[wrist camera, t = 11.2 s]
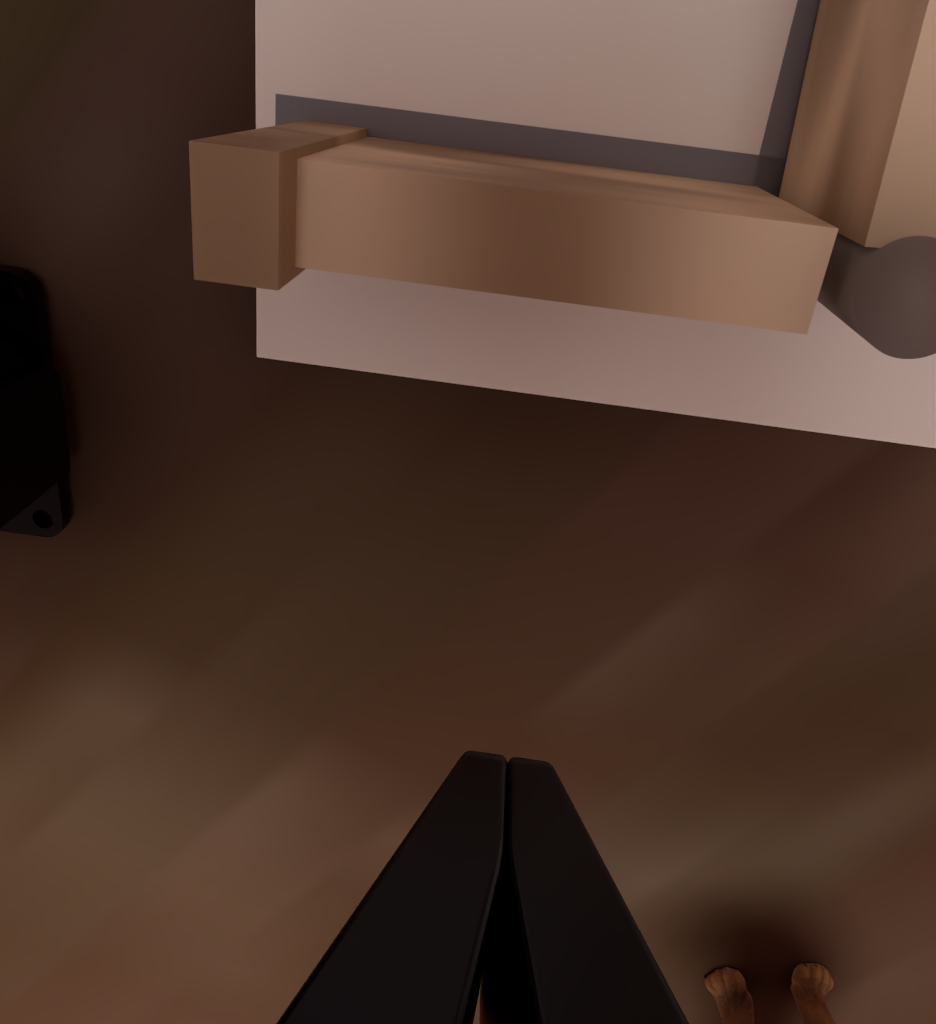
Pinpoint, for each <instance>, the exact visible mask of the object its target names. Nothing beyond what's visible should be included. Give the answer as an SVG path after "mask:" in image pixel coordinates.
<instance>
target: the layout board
mask: <svg viewBox="0 0 936 1024" xmlns="http://www.w3.org/2000/svg"><path fill="white" fill-rule="evenodd" d="M819 4H820V0H255V44H256V129H259V128H265V127H271V126H276V125H282V124H288V123H294V122H300V121H314V122H322V123H330V124H338V125H345V126H353V127H361V128H367V137H373V138H381V139H389V140H397V141H404V142H412V143H420V144H428V145H436V146H443V147H451V148H459V149H467V150H475V151H483V152H490V153H498V154H506V155H514V156H522V157H529V158H537V159H545V160H553V161H561V162H569V163H576V164H584V165H592V166H600V167H608V168H615V169H623V170H631V171H639V172H647V173H654V174H662V175H670V176H678V177H686V178H694V179H701V180H709V181H717V182H725V183H733V184H740V185H748V186H756V187H759V188H761V189H763V190H765V191H766V192H768V193H770V194H772V195H774V196H776V197H778V198H779V194H780V189H781V184H782V179H783V175H784V170H785V165H786V160H787V156H788V151H789V146H790V142H791V137H792V132H793V127H794V123H795V118H796V113H797V108H798V104H799V99H800V94H801V90H802V85H803V80H804V75H805V71H806V66H807V61H808V56H809V52H810V47H811V42H812V38H813V33H814V28H815V23H816V19H817V14H818V9H819ZM256 318H257V357H261V358H268V359H275V360H283V361H290V362H298V363H305V364H313V365H320V366H328V367H335V368H342V369H350V370H357V371H365V372H372V373H380V374H387V375H394V376H402V377H409V378H417V379H424V380H432V381H439V382H447V383H454V384H461V385H469V386H476V387H484V388H491V389H499V390H506V391H514V392H521V393H528V394H536V395H543V396H551V397H558V398H566V399H573V400H580V401H588V402H595V403H603V404H610V405H618V406H625V407H633V408H640V409H647V410H655V411H662V412H670V413H677V414H685V415H692V416H700V417H707V418H714V419H722V420H729V421H737V422H744V423H752V424H759V425H766V426H774V427H781V428H789V429H796V430H804V431H811V432H819V433H826V434H833V435H841V436H848V437H856V438H863V439H871V440H878V441H886V442H893V443H900V444H908V445H915V446H923V447H930V448H936V354H933V355H930V356H927V357H923V358H917V359H900V358H895V357H891V356H888V355H886V354H884V353H882V352H880V351H879V350H877V349H876V348H874V347H873V346H872V345H871V344H870V343H868V342H867V341H866V340H865V339H864V338H862V337H861V336H860V335H859V334H857V333H856V332H855V331H854V330H853V329H851V328H850V327H849V326H848V325H846V324H845V323H844V322H843V321H842V320H840V319H839V318H838V317H837V316H836V315H834V314H833V313H832V312H831V311H829V310H828V309H827V308H826V307H825V306H823V305H822V304H821V303H820V302H818V301H817V302H816V306H815V309H814V312H813V316H812V319H811V322H810V326H809V329H808V332H807V334H799V333H791V332H784V331H776V330H769V329H761V328H753V327H746V326H738V325H731V324H723V323H715V322H708V321H700V320H693V319H685V318H678V317H670V316H662V315H655V314H647V313H640V312H632V311H624V310H617V309H609V308H602V307H594V306H586V305H579V304H571V303H564V302H556V301H549V300H541V299H533V298H526V297H518V296H511V295H503V294H495V293H488V292H480V291H473V290H465V289H458V288H450V287H442V286H435V285H427V284H420V283H412V282H404V281H397V280H389V279H382V278H374V277H366V276H359V275H351V274H344V273H336V272H329V271H321V270H313V269H305V270H304V271H303V272H301V273H300V274H299V275H297V276H296V277H295V278H294V279H292V280H291V281H290V282H289V283H287V284H286V285H285V286H283V287H282V288H281V289H280V290H278V291H277V290H270V289H262V288H256Z"/></svg>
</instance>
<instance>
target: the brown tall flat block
mask: <svg viewBox="0 0 936 1024" xmlns="http://www.w3.org/2000/svg"><path fill="white" fill-rule="evenodd" d="M779 198H780V199H782V200H784V201H786V202H788V203H790V204H792V205H794V206H796V207H798V208H800V209H802V210H804V211H805V212H807V213H809V214H811V215H813V216H815V217H817V218H819V219H821V220H823V221H825V222H827V223H829V224H831V225H833V226H835V227H837V228H839V229H838V233H837V236H836V239H835V243H834V246H833V249H832V253H831V256H830V259H829V263H828V266H827V269H826V273H825V276H824V279H823V283H822V286H821V289H820V293H819V296H818V299H817V301H818V302H820V303H821V304H822V305H823V306H825V307H826V308H827V309H828V310H829V311H831V312H832V313H833V314H834V315H836V316H837V317H838V318H839V319H840V320H842V321H843V322H844V323H845V324H846V325H848V326H849V327H850V328H851V329H853V330H854V331H855V332H856V333H857V334H859V335H860V336H861V337H862V338H864V339H865V340H866V341H867V342H868V343H870V344H871V345H872V346H873V347H874V348H876V349H877V350H879V351H880V352H882V353H884V354H886V355H888V356H891V357H895V358H900V359H917V358H923V357H927V356H930V355H933V354H936V0H820V4H819V9H818V14H817V19H816V23H815V28H814V33H813V38H812V42H811V47H810V52H809V56H808V61H807V66H806V71H805V75H804V80H803V85H802V90H801V94H800V99H799V104H798V108H797V113H796V118H795V123H794V127H793V132H792V137H791V142H790V146H789V151H788V156H787V160H786V165H785V170H784V175H783V179H782V184H781V189H780V194H779Z"/></svg>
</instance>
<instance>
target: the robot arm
mask: <svg viewBox="0 0 936 1024" xmlns="http://www.w3.org/2000/svg"><path fill="white" fill-rule="evenodd" d="M11 284H14V285H17V286H18V287H19V288H20V289H21V290H22V293H23V295H24V300H23V302H21V301H18V300H17V299H16V298H15V297H14V296H13V294H12V291H11ZM69 471H70V459H69V451H68V442H67V433H66V425H65V416H64V407H63V398H62V390H61V381H60V375H59V374H58V372H57V371H56V369H55V368H54V367H53V360H52V352H51V343H50V335H49V327H48V318H47V310H46V301H45V294H44V290H43V287H42V284H41V283H40V282H39V280H38V279H37V277H36V276H34V275H33V274H32V273H30V272H29V271H27V270H24V269H21V268H16V267H9V266H1V265H0V531H6V532H13V533H20V534H27V535H35V536H42V537H53V536H55V535H57V534H59V533H60V532H61V531H62V530H63V529H64V528H65V527H66V526H67V525H68V523H69V522H70V517H71V512H70V504H69V496H68V487H67V479H66V475H67V474H68V473H69ZM41 510H43V511H46V512H47V513H48V514H50V515H51V517H52V519H53V521H51V520H48V519H46V518H45V517H44V516H43V514H42V512H41ZM480 984H481V989H480ZM479 989H480V1024H689V1023H688V1021H687V1019H686V1017H685V1015H684V1013H683V1012H682V1010H681V1008H680V1006H679V1004H678V1002H677V1000H676V998H675V996H674V995H673V993H672V991H671V989H670V987H669V985H668V983H667V981H666V979H665V977H664V976H663V974H662V972H661V970H660V968H659V966H658V964H657V962H656V960H655V959H654V957H653V955H652V953H651V951H650V949H649V947H648V945H647V943H646V941H645V940H644V938H643V936H642V934H641V932H640V930H639V928H638V926H637V924H636V923H635V921H634V919H633V917H632V915H631V913H630V911H629V909H628V907H627V905H626V904H625V902H624V900H623V898H622V896H621V894H620V892H619V890H618V888H617V886H616V885H615V883H614V881H613V879H612V877H611V875H610V873H609V871H608V869H607V868H606V866H605V864H604V862H603V860H602V858H601V856H600V854H599V852H598V850H597V849H596V847H595V845H594V843H593V841H592V839H591V837H590V835H589V833H588V832H587V830H586V828H585V826H584V824H583V822H582V820H581V818H580V816H579V814H578V813H577V811H576V809H575V807H574V805H573V803H572V801H571V799H570V797H569V796H568V794H567V792H566V790H565V788H564V786H563V784H562V782H561V780H560V778H559V777H558V775H557V773H556V771H555V769H554V768H553V766H552V765H551V764H550V763H548V762H545V761H539V760H532V759H525V758H518V757H513V758H511V759H510V760H509V761H508V764H507V761H506V758H505V757H504V756H502V755H497V754H491V753H484V752H477V751H467V752H465V753H464V754H463V755H462V756H461V757H460V759H459V760H458V762H457V763H456V765H455V766H454V767H453V769H452V770H451V772H450V773H449V775H448V776H447V778H446V779H445V780H444V782H443V783H442V785H441V786H440V788H439V789H438V791H437V792H436V793H435V795H434V796H433V798H432V799H431V801H430V802H429V804H428V805H427V807H426V808H425V809H424V811H423V812H422V814H421V815H420V817H419V818H418V820H417V821H416V822H415V824H414V825H413V827H412V828H411V830H410V831H409V833H408V834H407V835H406V837H405V838H404V840H403V841H402V843H401V844H400V846H399V847H398V848H397V850H396V851H395V853H394V854H393V856H392V857H391V859H390V860H389V861H388V863H387V864H386V866H385V867H384V869H383V870H382V872H381V873H380V874H379V876H378V877H377V879H376V880H375V882H374V883H373V885H372V886H371V888H370V889H369V890H368V892H367V893H366V895H365V896H364V898H363V899H362V901H361V902H360V903H359V905H358V906H357V908H356V909H355V911H354V912H353V914H352V915H351V916H350V918H349V919H348V921H347V922H346V924H345V925H344V927H343V928H342V929H341V931H340V932H339V934H338V935H337V937H336V938H335V940H334V941H333V942H332V944H331V945H330V947H329V948H328V950H327V951H326V953H325V954H324V955H323V957H322V958H321V960H320V961H319V963H318V964H317V966H316V967H315V969H314V970H313V971H312V973H311V974H310V976H309V977H308V979H307V980H306V982H305V983H304V984H303V986H302V987H301V989H300V990H299V992H298V993H297V995H296V996H295V997H294V999H293V1000H292V1002H291V1003H290V1005H289V1006H288V1008H287V1009H286V1010H285V1012H284V1013H283V1015H282V1016H281V1018H280V1019H279V1021H278V1022H277V1023H276V1024H473V1021H474V1016H475V1010H476V1005H477V1000H478V995H479Z"/></svg>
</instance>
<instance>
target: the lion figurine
mask: <svg viewBox="0 0 936 1024" xmlns="http://www.w3.org/2000/svg"><path fill="white" fill-rule="evenodd" d="M791 980H792V985H791V992H792V995H793V996H794V998H795V1000H796V1003H797V1007H798V1010H799V1013H800V1016H801V1018H802V1020H803V1022H804V1024H835V1022H834V1020H833V1018H832V1016H831V1015H830V1013H829V1011H828V1009H827V1007H826V1005H825V1001H824V997H825V995H826V993H827V992H829V991H830V990H831V989H832V987H833V979H832V976H831V974H830V972H829V971H828V969H827V968H826V967H824V966H822V965H820V964H818V963H801V964H799V965H797V966H796V968H795V969H794V971H793V974H792V978H791ZM704 982H705V986H706V988H707V989H708V991H709V992H710V993H711V994H712V995H713V996H714V998H715V1000H716V1003H717V1006H718V1009H719V1013H720V1016H721V1019H722V1024H754V1004H753V1000H752V997H751V995H750V993H749V992H748V991H747V989H746V983H745V979H744V977H743V976H742V974H741V973H740V972H739V971H738V970H735V969H731V968H728V967H724V968H722V969H717V970H715V971H714V972H712V973H711V974H709V975H707V976H706V977H705V978H704Z"/></svg>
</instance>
